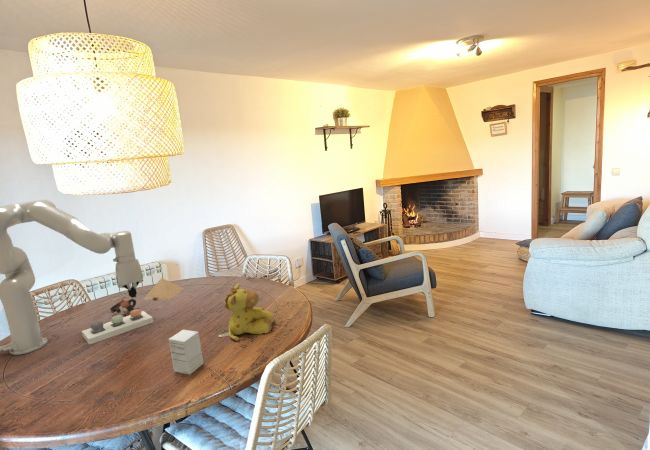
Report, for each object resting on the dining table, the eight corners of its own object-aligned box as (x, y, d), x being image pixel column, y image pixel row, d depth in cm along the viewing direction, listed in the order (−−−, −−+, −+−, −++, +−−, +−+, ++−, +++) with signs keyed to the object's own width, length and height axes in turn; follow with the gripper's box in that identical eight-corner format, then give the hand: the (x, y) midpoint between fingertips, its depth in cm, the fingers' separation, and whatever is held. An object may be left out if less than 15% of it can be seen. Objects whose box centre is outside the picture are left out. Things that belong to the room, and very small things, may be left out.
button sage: (114, 328, 164) (112, 320, 163) (111, 325, 167) (109, 317, 167) (125, 324, 167) (123, 316, 167) (122, 321, 171) (120, 314, 170)
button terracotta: (133, 321, 170) (131, 314, 169) (130, 319, 173) (128, 311, 172) (143, 318, 173) (142, 310, 172) (140, 315, 176) (139, 308, 175)
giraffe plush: (282, 328, 156) (277, 285, 153) (227, 348, 144) (221, 301, 140) (261, 313, 173) (257, 274, 170) (211, 329, 160) (205, 287, 157)
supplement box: (188, 360, 136) (183, 328, 134) (204, 363, 133) (199, 331, 131) (173, 371, 130) (167, 338, 127) (189, 375, 127) (184, 341, 124)
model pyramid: (141, 301, 202) (138, 283, 200) (159, 289, 219) (156, 273, 217) (169, 300, 200) (166, 283, 198) (185, 289, 217) (182, 272, 215)
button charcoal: (93, 335, 159) (91, 327, 158) (90, 332, 162) (89, 324, 161) (105, 331, 162) (103, 323, 161) (102, 328, 165) (101, 320, 164)
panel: (89, 344, 155) (88, 339, 154) (82, 336, 163) (81, 330, 163) (153, 322, 172) (152, 317, 172) (144, 315, 181) (143, 310, 180)
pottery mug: (122, 320, 179) (111, 306, 178) (116, 324, 185) (105, 311, 183) (143, 305, 188) (133, 292, 187) (136, 309, 194) (126, 297, 193)
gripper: (110, 264, 160) (118, 304, 163) (146, 255, 170) (152, 293, 173) (105, 261, 165) (113, 300, 168) (140, 253, 175) (147, 290, 179)
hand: (133, 296), depth 171 cm, fingers closed
